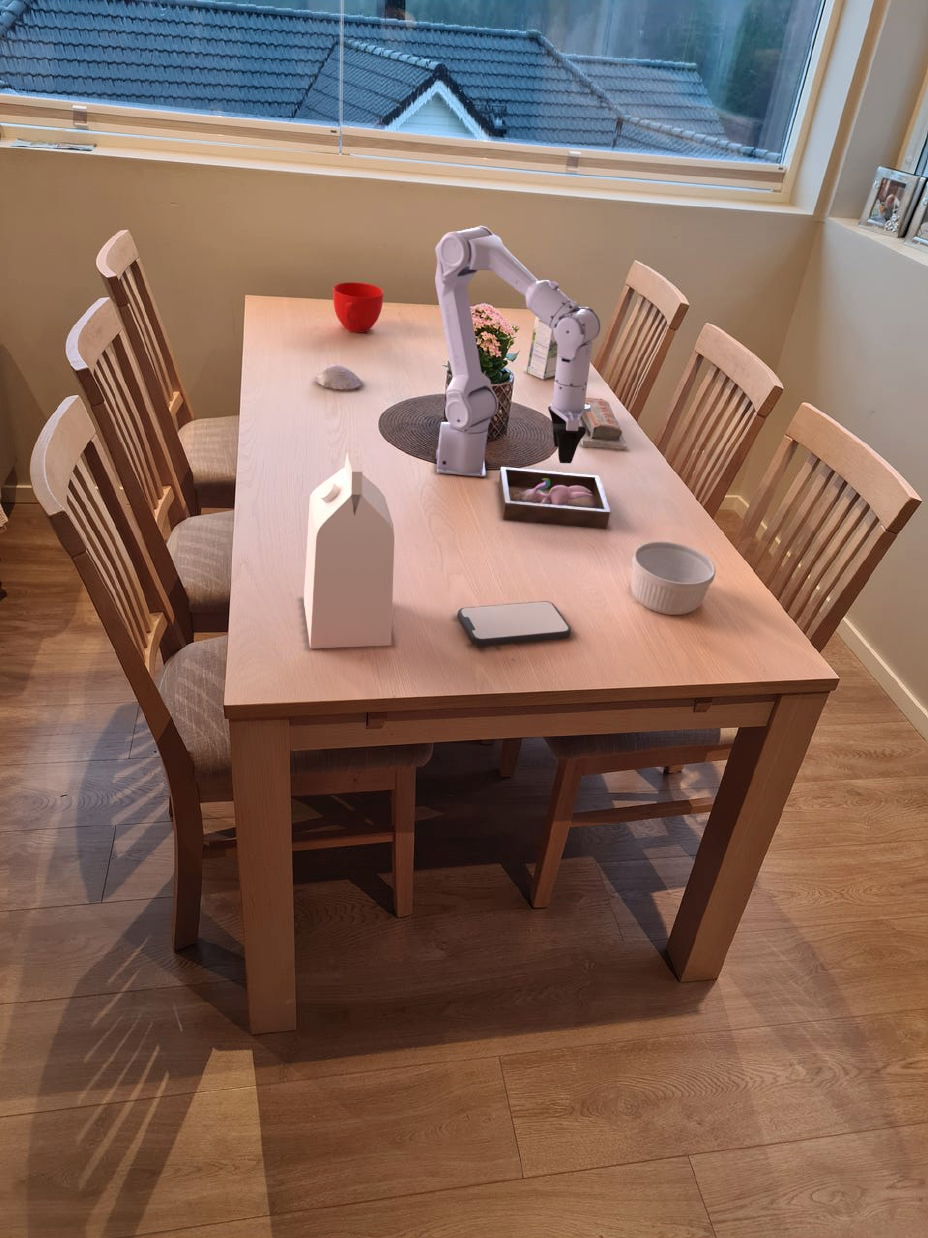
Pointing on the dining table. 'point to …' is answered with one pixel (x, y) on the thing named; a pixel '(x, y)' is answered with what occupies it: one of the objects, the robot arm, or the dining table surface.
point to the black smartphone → (513, 623)
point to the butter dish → (601, 426)
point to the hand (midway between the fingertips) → (562, 454)
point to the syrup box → (542, 351)
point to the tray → (548, 511)
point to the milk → (349, 562)
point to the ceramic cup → (357, 305)
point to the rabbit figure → (552, 494)
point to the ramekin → (670, 577)
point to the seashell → (338, 378)
